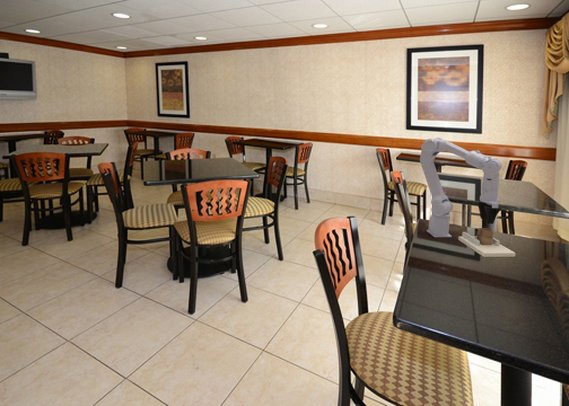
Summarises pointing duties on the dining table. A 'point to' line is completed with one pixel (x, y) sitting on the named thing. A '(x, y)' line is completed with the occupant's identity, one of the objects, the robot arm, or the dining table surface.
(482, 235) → the walnut block
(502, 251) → the channel
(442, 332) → the dining table surface
